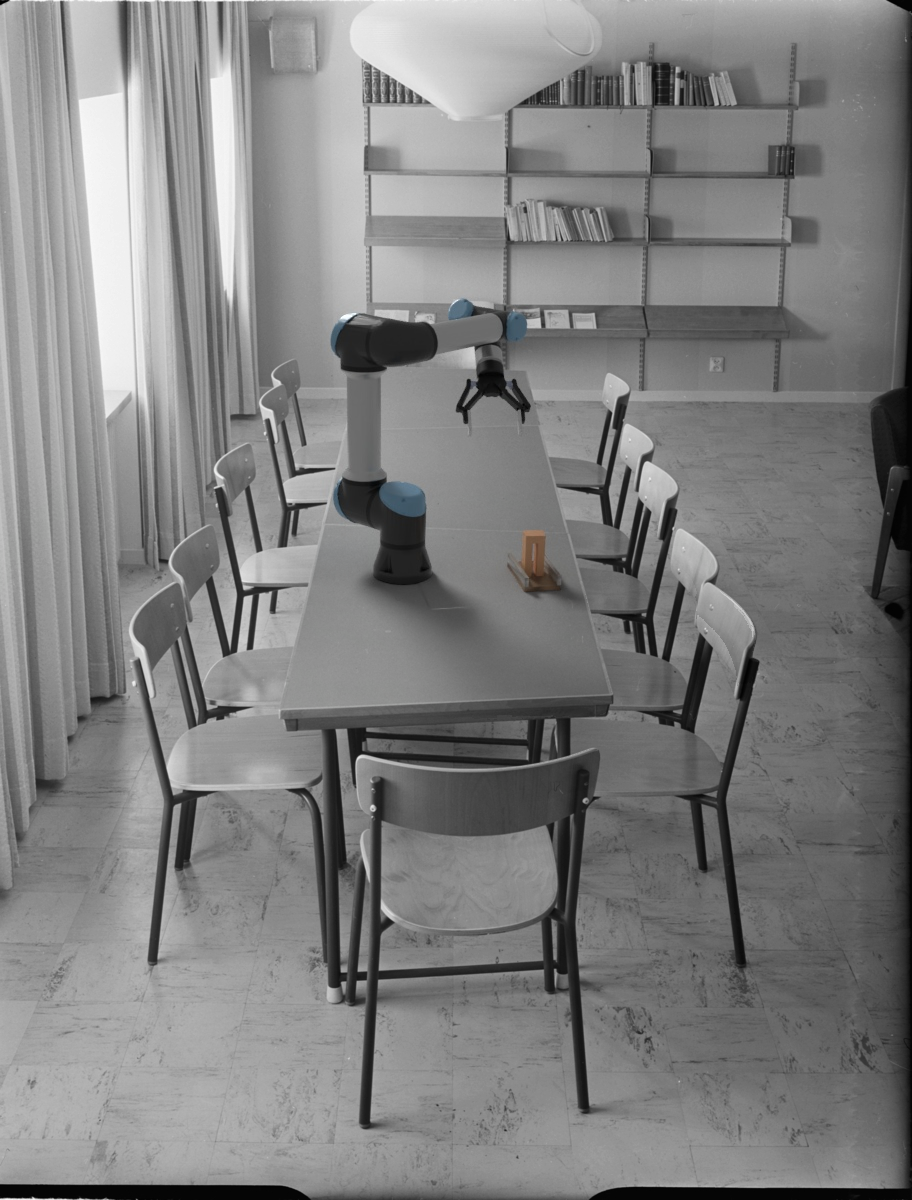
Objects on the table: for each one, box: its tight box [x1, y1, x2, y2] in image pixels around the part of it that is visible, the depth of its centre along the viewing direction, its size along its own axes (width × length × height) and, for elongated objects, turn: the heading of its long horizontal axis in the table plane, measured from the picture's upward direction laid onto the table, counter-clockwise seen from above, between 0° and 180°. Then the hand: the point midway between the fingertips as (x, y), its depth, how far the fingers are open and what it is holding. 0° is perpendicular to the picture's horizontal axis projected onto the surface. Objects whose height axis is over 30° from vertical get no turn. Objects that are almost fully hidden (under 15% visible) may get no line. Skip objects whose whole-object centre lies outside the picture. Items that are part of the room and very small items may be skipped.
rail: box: [506, 552, 563, 593], centre depth 308 cm, size 10×18×4 cm, turn 12°
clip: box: [521, 529, 547, 577], centre depth 306 cm, size 5×4×11 cm
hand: (495, 433), depth 318 cm, fingers open, 13 cm apart
